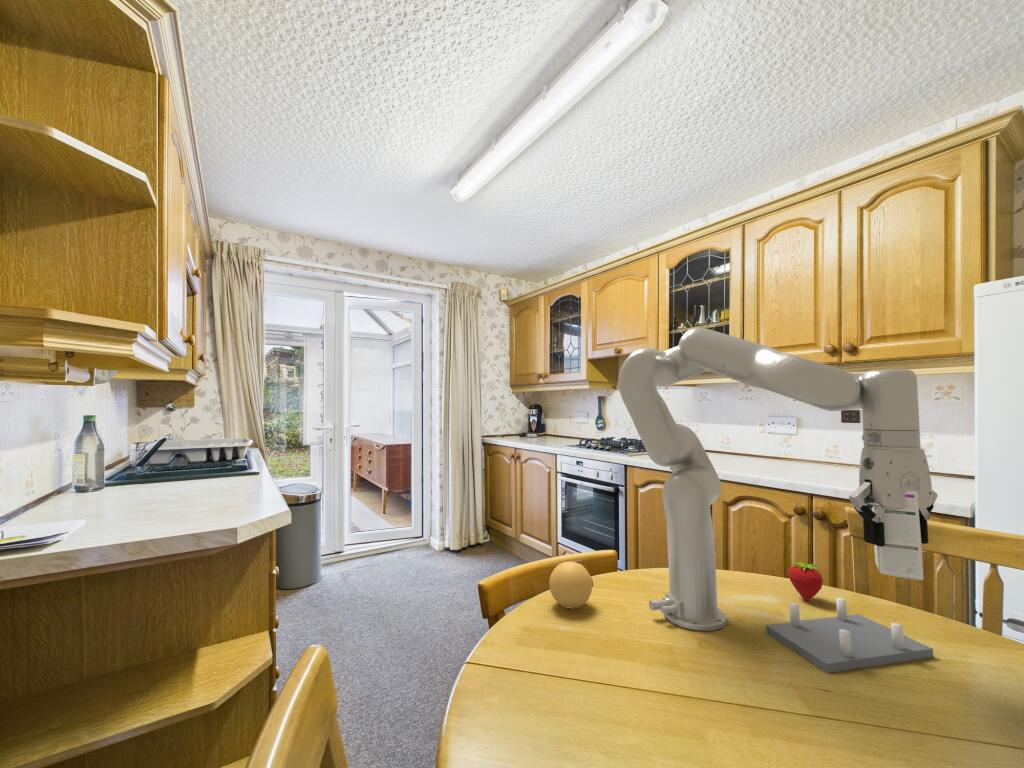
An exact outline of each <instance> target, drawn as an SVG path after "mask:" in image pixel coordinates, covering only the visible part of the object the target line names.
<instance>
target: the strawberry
mask: <svg viewBox="0 0 1024 768" xmlns="http://www.w3.org/2000/svg"><path fill="white" fill-rule="evenodd" d="M808 558H809V557H808V556H806V560H805V563H804V562H799V561H798V562H797V561H793V563H794V564H793V565H792V566H790V567H789V568H788V573H787V575H788V577H789V580H790V582H791V584H792V586H793V587H794V588H795V590H796V592H797V594H799V595H800V596H801V598H802V600H804V601H806V602H808V601H811V600H812V599H813V598H814V597H815V596H817V594H818V593H819V591H821V590H822V587H823V583H824V579H823V576H822V574H821V573H820V572H819V570H820V569H819V568H817V567H818V564H813V563H812V564H810V563H809V564H807V561H808Z"/></svg>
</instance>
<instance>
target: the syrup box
mask: <svg viewBox="0 0 1024 768" xmlns="http://www.w3.org/2000/svg"><path fill="white" fill-rule="evenodd" d="M905 491H906V492H904V493H905V504H906V508H903V509H887V508H886V510H885V512H884V514H883V516H882V518H881V520H880V522H883V523H884V533H885V546H883V547H880V546H877V545H874V544H873V547H874V548H873V549H874V562H875V563H874V564H875V566H876V568H877V570H878V572H879V573H880V574H882V575H886V576H891V577H897V578H903V579H908V580H909V579H910V580H916V581H924V566H923V565H924V563H923V562H924V561H923V548H922V547H923V546H922V543H921V532H920V521H919V509H918V494H917V492H916V491H915V490H905ZM874 502H876V503H877V501H876V499H875V497H874ZM875 509H876V507H875V508H872V511H873V512H874V511H875Z"/></svg>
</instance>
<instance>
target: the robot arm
mask: <svg viewBox="0 0 1024 768" xmlns="http://www.w3.org/2000/svg"><path fill="white" fill-rule="evenodd" d="M705 372H711V373H713V374H717V375H719V376H722V377H725V378H727V379H730V380H732V381H737V383H738V382H739V383H741V384H745V385H747V386H749V387H750V386H751V387H753V388H756V389H757V388H758V389H761V390H762V389H763V390H766V391H770V392H773V393H775V394H778V395H781V396H784V397H787V398H790V399H793V400H795V401H798V402H802V403H804V404H806V405H810V406H812V407H815V408H818V409H820V410H824V411H828V412H839V411H840V412H842V411H848V410H858V409H859V410H860V409H861V412H862V413H861V414H862V415H861V418H862V435H861V440H862V441H863V447H862V448H861V455H860V462H859V474H858V481H859V482H858V483H859V484H858V488H856V489H855V490H854V491H853V492H851V494H849V496H848V499H849V502H851V504H852V506H853V508H854V510H855V511H856V512H857V513H858V514H859V518H860V519H862V524H863V527H862V528H863V540H864V542H865V543H867V544H870V545H873V546H874V545H877V546H880V547H883V546H885V533H884V523H883V522H880V520H881V518H882V516H883V514H884V512H885V510H886V508H887V509H903V508H906V504H905V493H904V492H906V491H905V490H915V491H916V492H917V494H918V509H919V521H920V532H921V544H924V545H925V544H929V531H928V530H929V528H928V527H929V526H928V520H930V519H931V514H930V513H931V512H932V511H933V509H934V505H935V502H936V500H937V498H938V493H937V492H936V491H934V490H933V485H932V478H931V472H930V471H931V470H930V466H929V462H928V458H927V456H926V453H925V450H924V448H921V446H922V445H921V431H920V430H921V427H920V410H919V409H920V408H919V407H920V406H919V393H918V378H917V375H916V373H915V372H914V371H913V370H912V369H911V370H910V369H908V368H887V369H885V368H883V369H871V370H867V371H865V372H849V371H847V370H845V369H841V368H838V367H835V366H832V365H829V364H825V363H821V362H819V361H815V360H811V359H809V358H804V357H801V356H797V355H794V354H790V353H787V352H783V351H781V350H778V349H776V348H773V347H771V346H767V345H764V344H761V343H757V342H754V341H751V340H746V339H744V338H739V337H736V336H734V335H729V334H726V333H724V332H719V331H716V330H713V329H710V328H705V327H694V328H691V329H688V330H687V331H685V332H684V334H683V335H682V336H681V337H680V339H679V342H678V345H677V346H674V347H672V348H669V349H667V350H664V351H662V350H659V349H655V348H651V347H646V348H640V349H637V350H635V351H633V352H632V353H631V354H629V355H628V357H626V359H625V360H624V362H623V363H622V365H621V367H620V370H619V374H618V389H619V394H620V397H621V399H622V401H623V404H624V406H625V408H626V410H627V411H628V412H627V413H628V414H629V416H630V418H631V421H632V423H633V425H634V427H635V429H636V432H637V434H638V436H639V437H640V440H641V442H642V444H643V447H644V449H645V451H646V453H647V455H648V457H649V458H650V460H651V461H652V462H653V463H654V464H656V465H658V466H661V467H665V468H666V467H669V469H670V471H671V474H670V475H669V476H668V477H667V479H666V480H665V482H664V484H663V487H662V494H661V495H662V496H661V497H662V504H663V508H664V509H663V510H664V517H665V523H666V539H667V540H666V541H667V557H668V558H667V559H668V577H669V578H668V579H669V582H668V583H669V592H665V595H664V596H665V597H662V599H653V600H652V599H651V600H649V602H648V607H649V609H650V610H651V611H660V612H661V613H662V614H663V616H664V617H665V619H666V618H667V619H666V620H667V621H669V622H670V623H671V624H673V625H676V626H679V627H681V628H684V629H687V630H693V631H703V632H707V631H710V632H711V631H716V630H720V629H723V628H724V627H725V626H726V624H727V615H726V613H725V612H724V611H723V610H722V609H720V608H719V607H718V590H717V589H718V587H717V571H716V569H717V568H716V567H717V566H716V548H715V547H716V546H715V534H714V525H713V519H712V513H711V505H713V504H715V502H717V500H718V499H719V498H720V496H721V492H722V483H721V480H720V477H719V475H718V473H717V470H716V469H715V466H714V465H713V463H712V460H711V459H710V457H709V456H708V453H707V452H706V450H705V448H704V446H703V444H702V442H701V440H700V438H699V437H698V436H697V434H696V433H695V432H694V431H693V429H691V428H690V427H688V425H687V426H686V425H684V424H682V423H677V422H676V420H675V419H674V418H673V415H672V413H671V412H670V409H669V407H668V405H667V404H666V401H665V400H664V399H663V397H662V396H661V394H660V393H659V391H658V389H657V387H666V386H671V385H673V384H676V383H679V382H682V381H685V380H688V379H689V378H692V377H695V376H698V375H701V374H703V373H705ZM874 497H875V499H876V501H877V503H876V502H874ZM875 507H876V509H875V511H874V512H873V511H872V508H875Z"/></svg>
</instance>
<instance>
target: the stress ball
mask: <svg viewBox="0 0 1024 768" xmlns="http://www.w3.org/2000/svg"><path fill="white" fill-rule="evenodd" d="M548 582H549V584H548V585H549V591H550V594H551V596H552V597H553V599H554V601H555V602H556V603H558V604H559V605H560V606H562V607H563V608H564V607H565V608H566V607H569V608H576V607H577V608H580V607H581V606H583V605H584V604H586V603H587V602H588V601H589V599H590V597H591V595H592V591H593V587H594V579H593V576H591V575H590V573H589V571H588V570H587V568H586V567H585V566H584V565H583V564H581V563H578V562H576V561H573V560H566V561H564V562H561V563H558V565H557V566H556V567H554V569H553V571H552V572H551V574H550V576H549V581H548ZM577 608H576V609H577Z"/></svg>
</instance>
